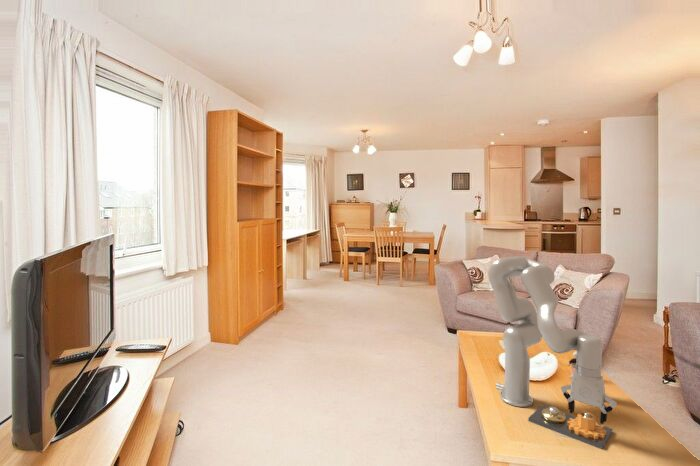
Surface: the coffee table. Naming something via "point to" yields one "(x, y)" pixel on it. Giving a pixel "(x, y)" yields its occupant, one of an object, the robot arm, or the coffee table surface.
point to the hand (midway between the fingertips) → (586, 417)
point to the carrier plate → (565, 424)
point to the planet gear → (586, 426)
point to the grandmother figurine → (573, 362)
